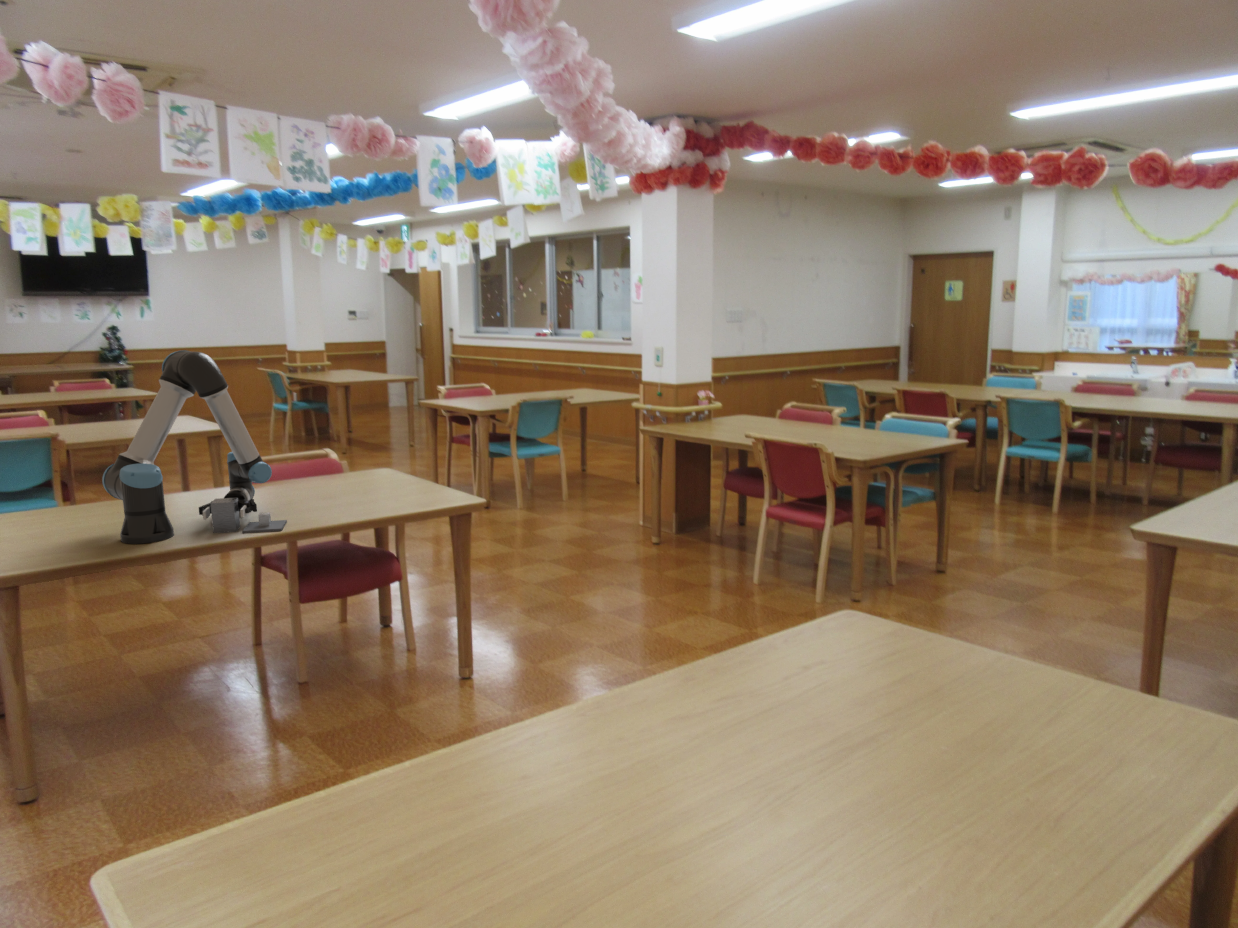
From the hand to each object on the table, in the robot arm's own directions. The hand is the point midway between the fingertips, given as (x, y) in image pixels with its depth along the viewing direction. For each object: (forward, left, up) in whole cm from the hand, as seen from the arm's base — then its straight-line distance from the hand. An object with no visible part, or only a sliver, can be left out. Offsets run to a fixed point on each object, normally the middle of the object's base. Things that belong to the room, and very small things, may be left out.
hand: (223, 514), depth 287 cm
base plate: (+12, +4, -6) cm, 14 cm away
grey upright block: (0, +4, -6) cm, 7 cm away
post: (+12, +4, -6) cm, 14 cm away
